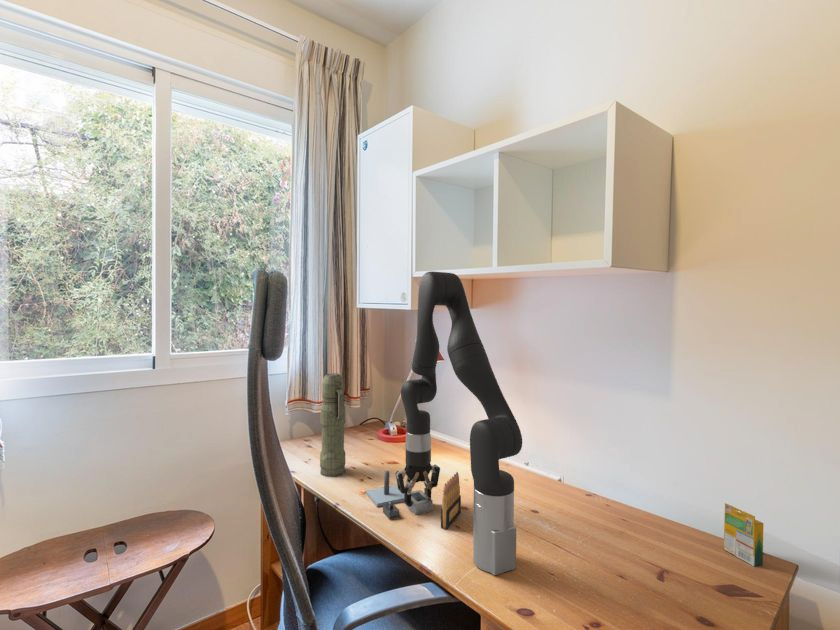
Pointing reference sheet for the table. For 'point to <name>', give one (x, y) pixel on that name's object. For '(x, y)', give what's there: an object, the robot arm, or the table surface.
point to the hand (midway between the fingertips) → (417, 503)
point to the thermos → (332, 426)
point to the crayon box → (743, 535)
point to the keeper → (385, 493)
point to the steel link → (420, 502)
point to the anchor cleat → (391, 510)
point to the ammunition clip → (451, 502)
